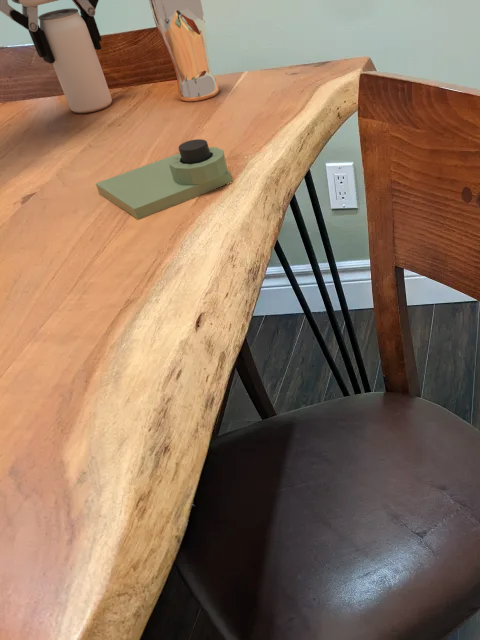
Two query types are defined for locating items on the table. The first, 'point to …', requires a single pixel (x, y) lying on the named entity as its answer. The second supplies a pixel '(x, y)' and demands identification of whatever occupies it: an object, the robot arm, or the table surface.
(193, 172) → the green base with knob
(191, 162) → the button
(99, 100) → the can
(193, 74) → the beer glass
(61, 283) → the table surface
